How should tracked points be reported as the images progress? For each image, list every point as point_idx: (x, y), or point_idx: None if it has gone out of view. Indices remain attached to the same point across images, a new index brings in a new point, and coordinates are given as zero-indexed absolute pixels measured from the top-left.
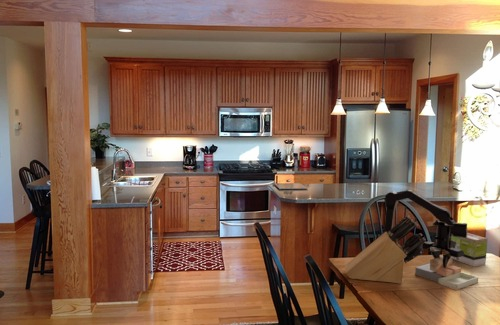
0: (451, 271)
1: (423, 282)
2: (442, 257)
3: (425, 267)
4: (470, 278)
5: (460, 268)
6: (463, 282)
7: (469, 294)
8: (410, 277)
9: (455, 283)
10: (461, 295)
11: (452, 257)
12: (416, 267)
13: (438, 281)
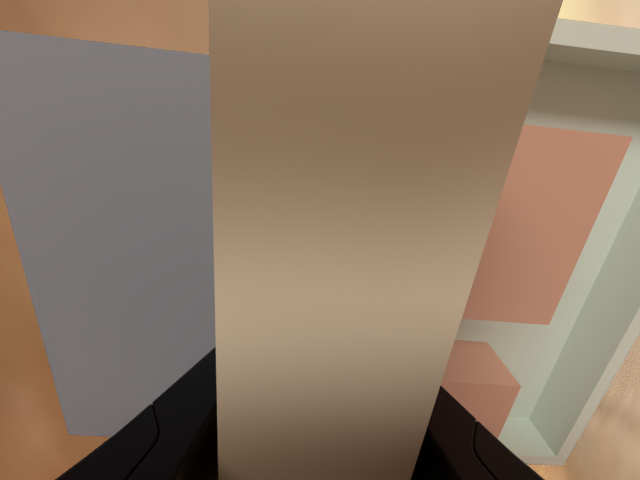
0: (506, 401)
1: None
2: (280, 429)
3: (126, 358)
4: (637, 69)
5: (613, 161)
6: (609, 382)
7: (626, 421)
8: None
9: (497, 328)
10: (577, 468)
11: (535, 35)
12: (78, 431)
13: None
